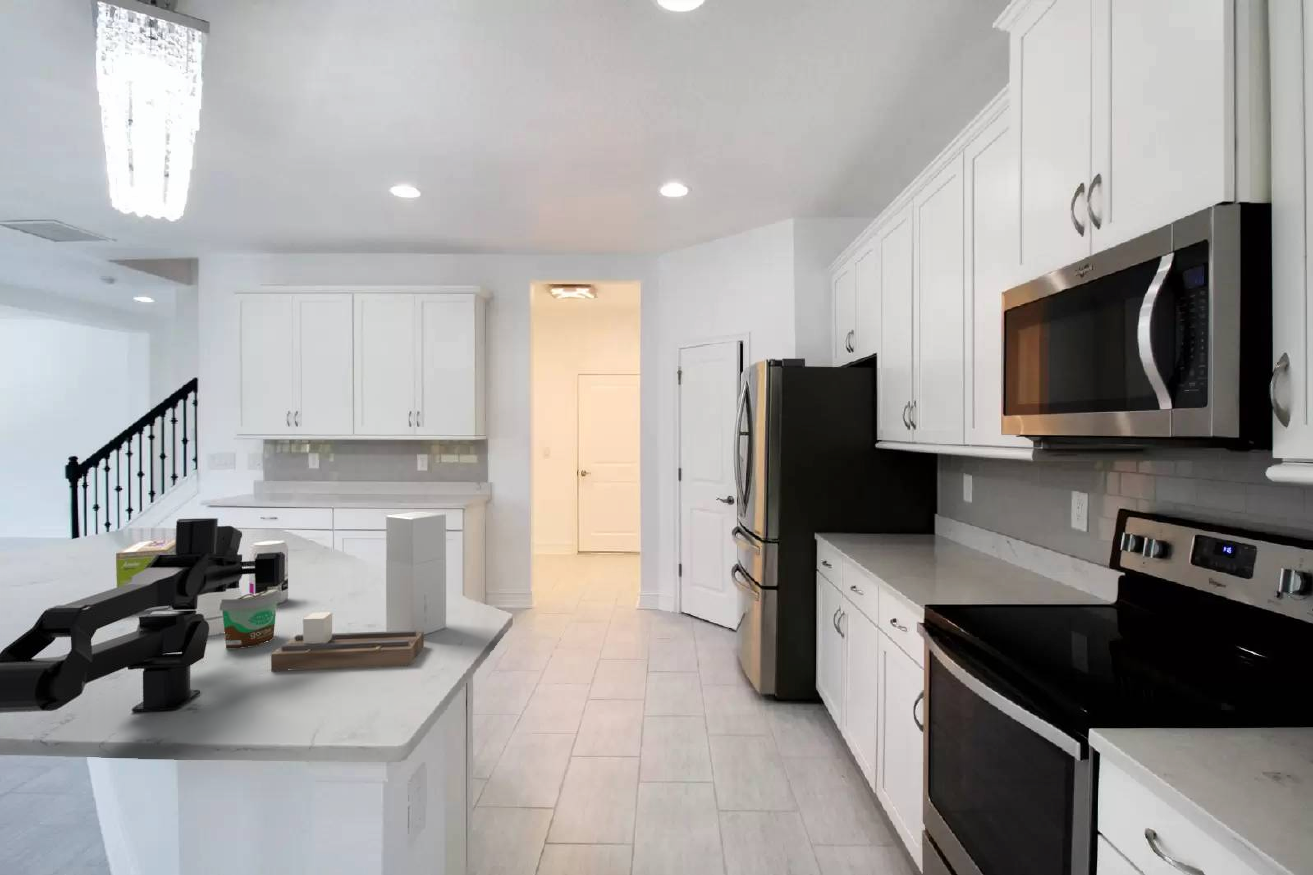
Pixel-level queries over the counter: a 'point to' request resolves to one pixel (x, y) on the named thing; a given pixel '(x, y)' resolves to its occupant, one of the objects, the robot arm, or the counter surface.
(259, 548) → the supplement can
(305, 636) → the slider tab
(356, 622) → the counter surface
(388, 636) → the slider track
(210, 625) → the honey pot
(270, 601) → the food container
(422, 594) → the tall white carton
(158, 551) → the tea box
